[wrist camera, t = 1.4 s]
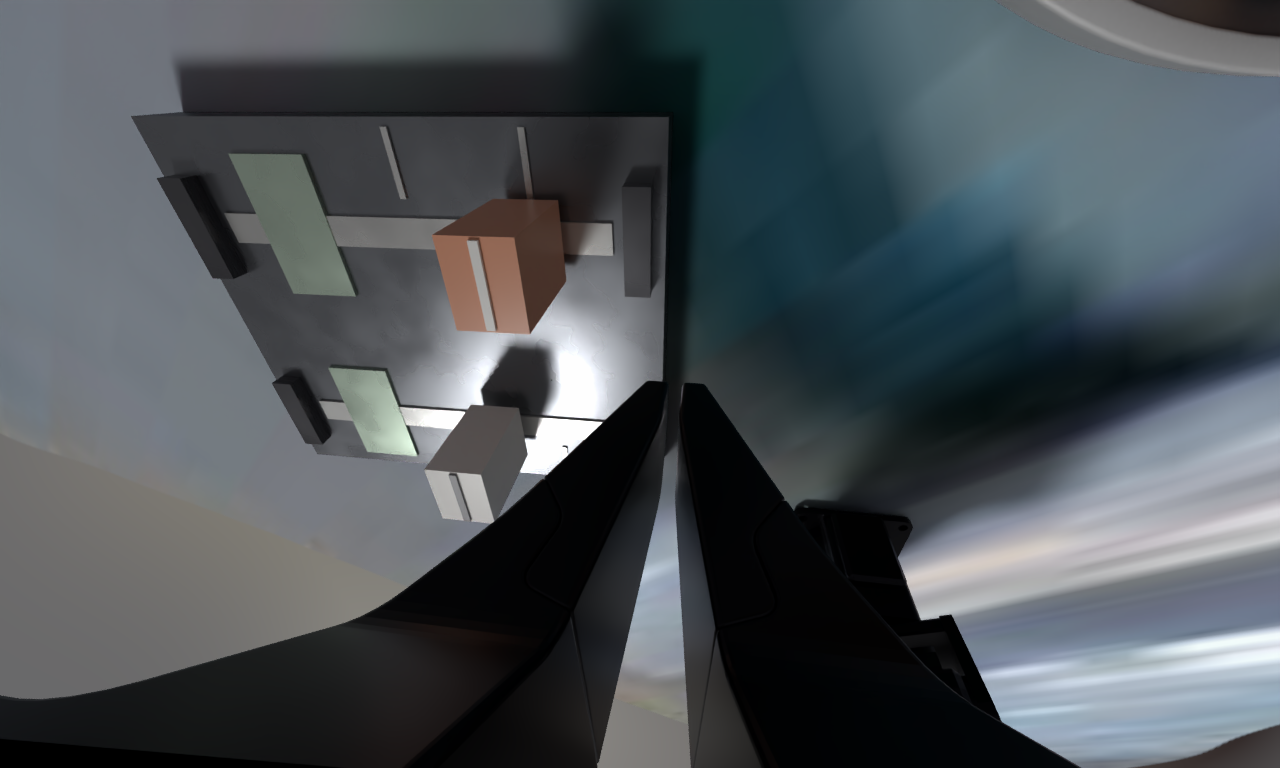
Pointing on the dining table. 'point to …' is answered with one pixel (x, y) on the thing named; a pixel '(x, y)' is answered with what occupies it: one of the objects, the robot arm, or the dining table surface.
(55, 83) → the dining table surface
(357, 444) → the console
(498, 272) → the block
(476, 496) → the fader
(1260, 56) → the bowl
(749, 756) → the robot arm
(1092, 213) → the dining table surface
